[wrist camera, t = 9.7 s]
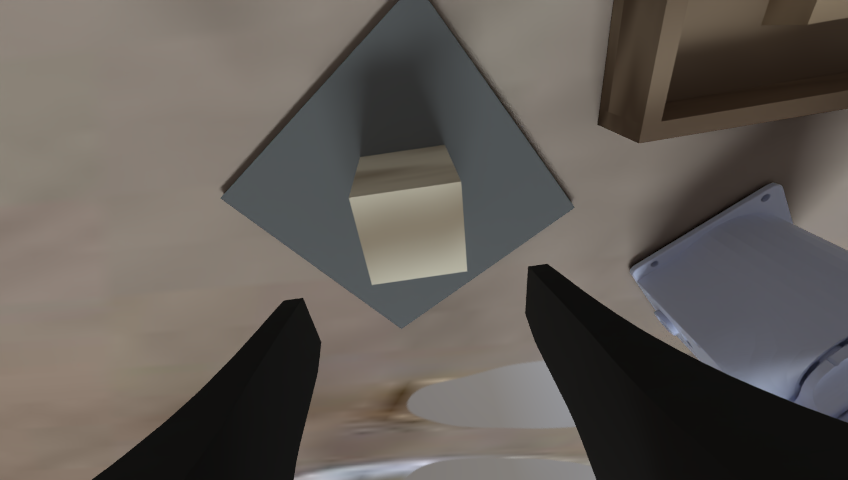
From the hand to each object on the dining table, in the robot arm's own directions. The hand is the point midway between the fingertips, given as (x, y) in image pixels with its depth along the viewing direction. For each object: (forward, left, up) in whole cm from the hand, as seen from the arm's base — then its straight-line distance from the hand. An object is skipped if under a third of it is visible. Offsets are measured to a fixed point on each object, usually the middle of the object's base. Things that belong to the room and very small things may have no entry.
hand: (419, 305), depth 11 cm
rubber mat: (-1, 0, -9) cm, 9 cm away
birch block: (0, 0, -9) cm, 9 cm away
